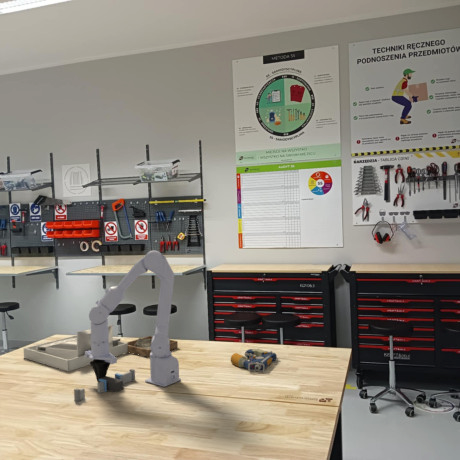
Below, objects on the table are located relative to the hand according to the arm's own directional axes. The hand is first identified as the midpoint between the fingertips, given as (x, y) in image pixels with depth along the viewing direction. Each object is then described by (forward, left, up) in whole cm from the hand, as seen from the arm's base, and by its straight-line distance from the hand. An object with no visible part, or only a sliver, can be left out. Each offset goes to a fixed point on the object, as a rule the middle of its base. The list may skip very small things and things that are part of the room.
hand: (101, 381), depth 150 cm
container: (+37, -17, -1) cm, 40 cm away
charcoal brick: (-5, 0, -2) cm, 6 cm away
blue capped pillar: (-5, +2, -1) cm, 5 cm away
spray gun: (-29, -46, -2) cm, 55 cm away
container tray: (+38, -16, -1) cm, 41 cm away
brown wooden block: (+18, -38, -1) cm, 42 cm away
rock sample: (+15, -36, -2) cm, 39 cm away
